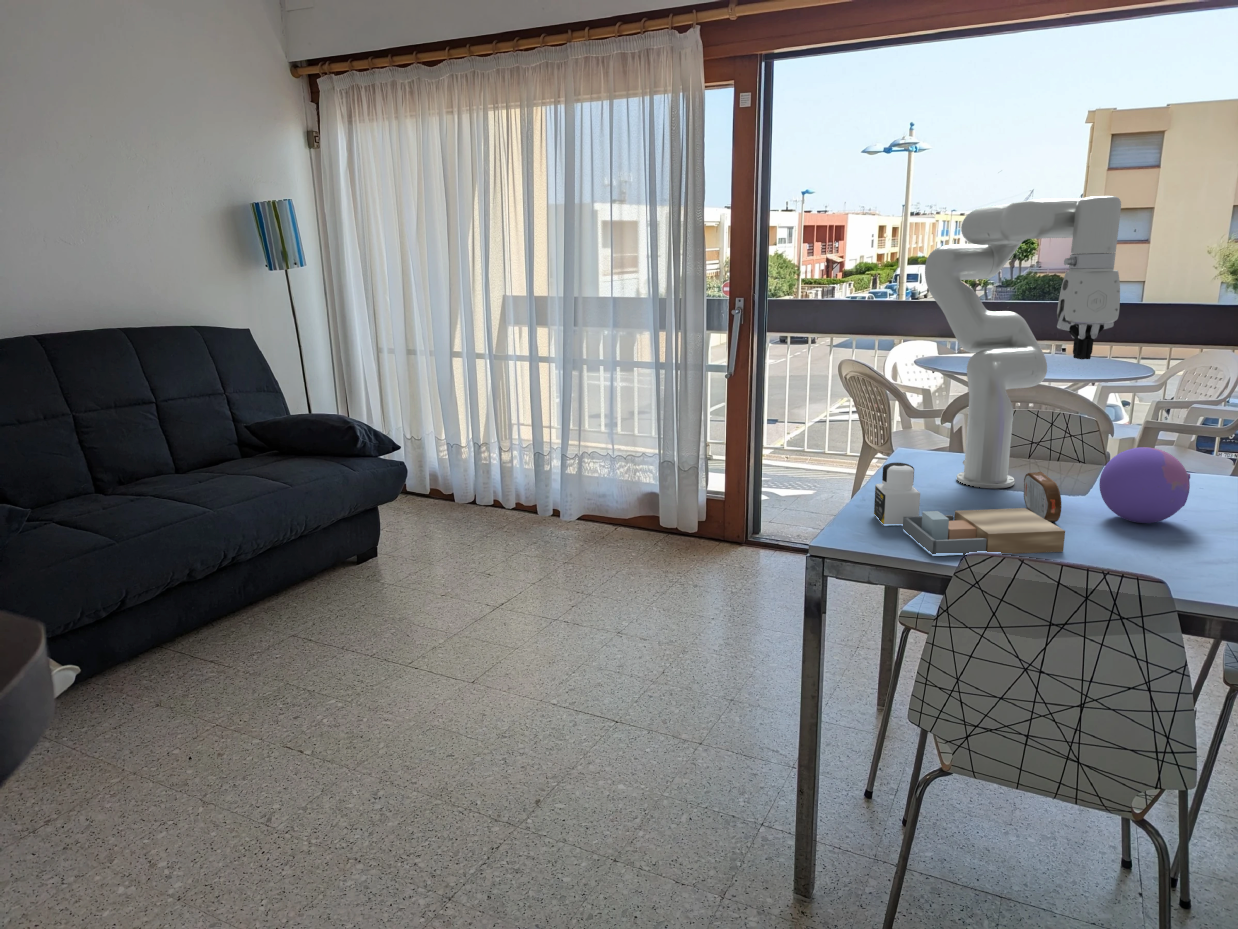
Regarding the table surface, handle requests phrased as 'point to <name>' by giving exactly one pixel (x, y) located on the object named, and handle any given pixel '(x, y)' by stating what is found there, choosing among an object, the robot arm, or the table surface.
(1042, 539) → the board
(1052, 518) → the tin
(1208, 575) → the table surface
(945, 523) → the tile slate
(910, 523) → the tray
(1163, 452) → the decorative ball
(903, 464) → the medicine bottle
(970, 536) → the tile terracotta
